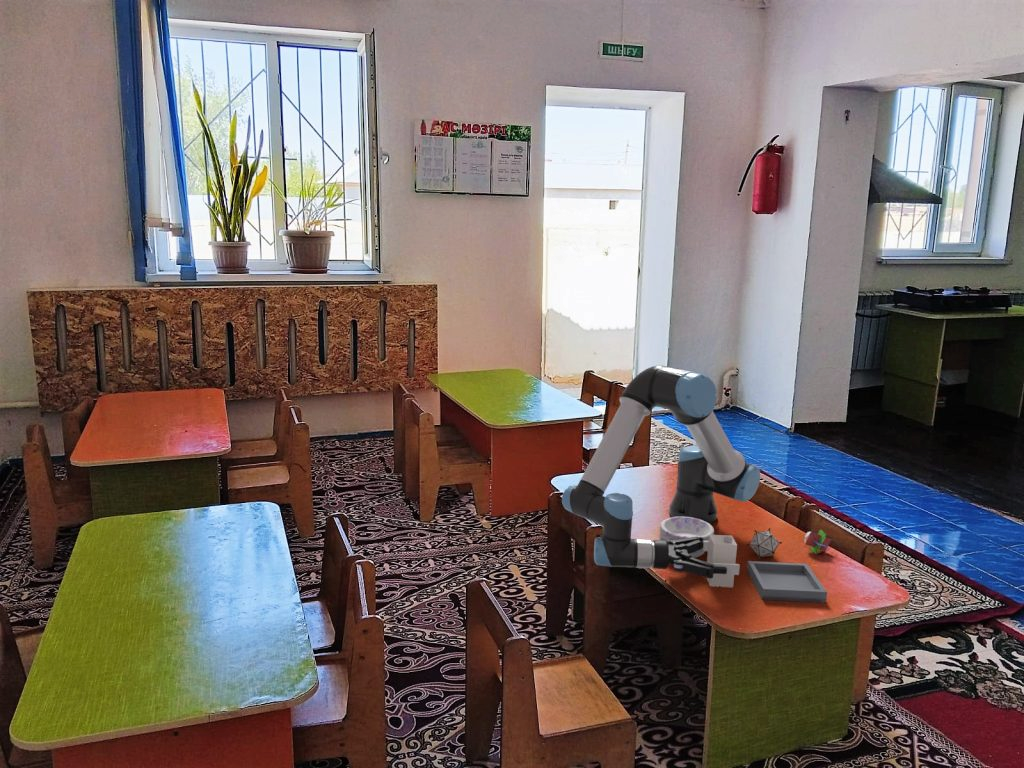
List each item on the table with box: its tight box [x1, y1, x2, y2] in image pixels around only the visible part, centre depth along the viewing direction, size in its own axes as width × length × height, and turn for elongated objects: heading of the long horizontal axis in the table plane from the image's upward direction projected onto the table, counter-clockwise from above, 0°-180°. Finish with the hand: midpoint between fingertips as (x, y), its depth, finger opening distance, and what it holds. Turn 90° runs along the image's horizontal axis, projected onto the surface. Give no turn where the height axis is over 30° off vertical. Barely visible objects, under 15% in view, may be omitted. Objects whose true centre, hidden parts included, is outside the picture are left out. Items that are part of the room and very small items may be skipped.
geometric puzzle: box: [803, 528, 832, 555], centre depth 224 cm, size 7×7×8 cm
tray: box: [746, 560, 828, 604], centre depth 203 cm, size 16×16×3 cm
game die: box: [746, 527, 783, 560], centre depth 220 cm, size 9×8×10 cm
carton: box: [706, 534, 738, 588], centre depth 204 cm, size 6×6×13 cm
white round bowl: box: [659, 516, 715, 558], centre depth 222 cm, size 15×15×8 cm
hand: (733, 557), depth 203 cm, fingers open, 13 cm apart
